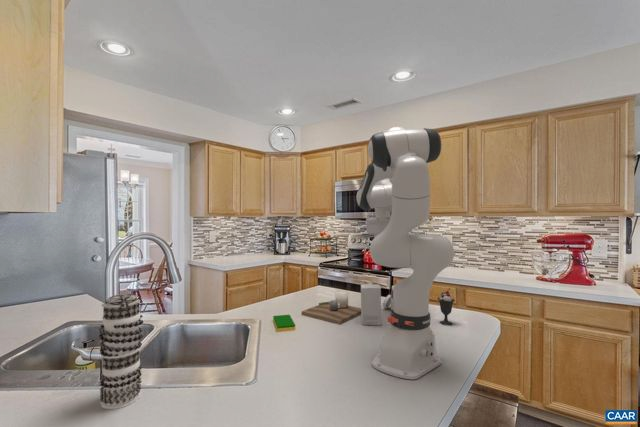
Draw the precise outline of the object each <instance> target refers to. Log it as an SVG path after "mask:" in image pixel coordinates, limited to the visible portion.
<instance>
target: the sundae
mask: <svg viewBox="0 0 640 427" xmlns="http://www.w3.org/2000/svg"><path fill="white" fill-rule="evenodd" d="M450 290H451V288H450V287H448V290H446V291H444V292H441V294H440V296H438V297H437V300H438V302H439V309H440V312H441V313H442V315H444V317H443V318H444V320H440V321H439V323H440V324H441V325H443V326H452V325H453V322H451V321H449V319H448V315H450V314H451V313H452V311H453V310H452V308H453V303H454V302H455V301H456V299H454V298H452V296H451V294H450Z"/></svg>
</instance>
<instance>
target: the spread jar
mask: <svg viewBox="0 0 640 427" xmlns="http://www.w3.org/2000/svg"><path fill="white" fill-rule="evenodd" d="M393 288H394V285H392V286H391V292H390V294H388V295H387V296H386V297H385V298H384V301H383V303H382V307H383V309H385V310H387V309H389V308H390V311H391V312H392V309H393Z"/></svg>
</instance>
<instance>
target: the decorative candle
mask: <svg viewBox="0 0 640 427" xmlns="http://www.w3.org/2000/svg"><path fill="white" fill-rule="evenodd" d="M141 301H142V300H141V299H140V298H138V297H137V296H136V295H135V294H131V293H123V294H122V293H121V294H115V295H112V296H110V297H109V298H107V299H106V301H105V302H103V303H102V304H101V307H103V308H102V309H103V311H102V312H103V314H102V315H103V316H102V324H101V325H100V327H99V328H98V329H99V330H98V331H99V334H98V336H99V338H98V339H99V340H101V341H100V343H99V346H100V349H99V355H100V356H101V357H102V365H101V366H102V367H101V370H102V373H100V376H99V377H100V378H99V379H100V381H99V382H100V383H99V384H100V386H101V387H100V389H99V391H100V392H99V393H100V395H99V398H100V399H99V400H100V407H101V408H103V409H105V410H106V409H107V410H116V409H121V408H125V407H127V406H130V405H131V404H134V403H135V402H137V400H139V399H140V397H141V396H142V392H141V390H142V386H141V383H142V382H143V381H142V378H141V377H142V373H141V372H142V371H141V370H142V369H143V368H142V365H141V359H140V350H141V349H142V345H143V344H142V342H141V341H140V340H141V339H142V338H143V334H141V333H142V332H143V328H142V327H140V326H141V325H142V324H144V320H143V319H142V318H143V317H144V316H143V315H142V314H141V312H140V303H141Z"/></svg>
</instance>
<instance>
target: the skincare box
mask: <svg viewBox="0 0 640 427" xmlns="http://www.w3.org/2000/svg"><path fill="white" fill-rule="evenodd" d="M381 289H382V288H381V285H380V284H374V283H373V284H364V283H363V284H362V283H361V284H360V308H361V315H360V316H361V317H360V318H361V319H360V320H361V325H362V326H382V290H381Z"/></svg>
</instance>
